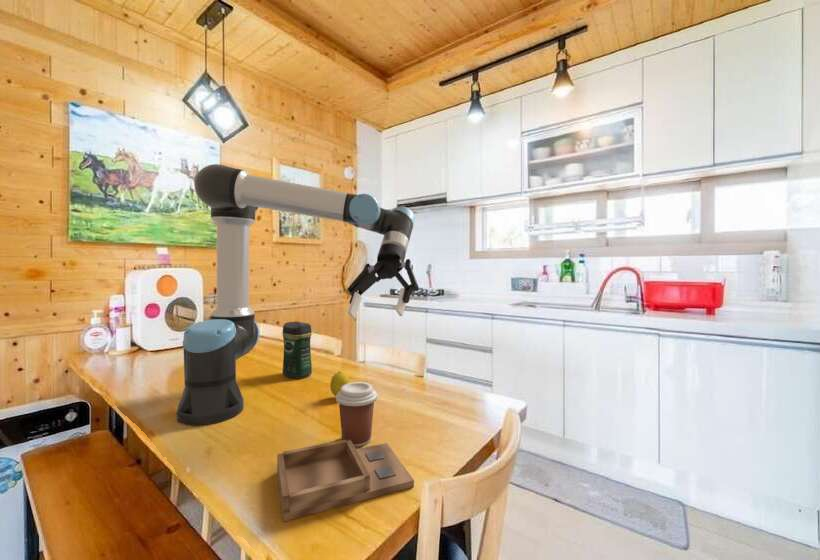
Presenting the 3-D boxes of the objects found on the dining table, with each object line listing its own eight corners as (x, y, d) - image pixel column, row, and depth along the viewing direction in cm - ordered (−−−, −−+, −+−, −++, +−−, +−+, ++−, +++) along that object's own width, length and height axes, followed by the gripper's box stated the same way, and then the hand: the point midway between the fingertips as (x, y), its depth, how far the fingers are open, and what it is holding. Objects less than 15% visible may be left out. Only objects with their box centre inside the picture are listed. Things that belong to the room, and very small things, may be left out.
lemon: (345, 402, 100) (345, 374, 99) (327, 401, 101) (327, 373, 101) (352, 395, 105) (352, 369, 105) (335, 394, 106) (335, 367, 106)
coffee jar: (315, 374, 124) (315, 321, 123) (297, 381, 117) (297, 325, 116) (297, 369, 129) (296, 319, 128) (278, 375, 123) (278, 322, 121)
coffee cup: (338, 430, 84) (338, 380, 83) (376, 429, 85) (377, 379, 84) (333, 451, 75) (333, 395, 74) (376, 449, 75) (377, 394, 75)
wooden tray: (283, 522, 54) (283, 498, 54) (277, 471, 67) (277, 452, 67) (413, 486, 63) (414, 466, 63) (386, 448, 76) (386, 431, 76)
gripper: (438, 255, 99) (426, 320, 86) (361, 263, 109) (340, 323, 96) (429, 236, 93) (415, 303, 81) (349, 247, 103) (325, 308, 91)
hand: (374, 314), depth 89 cm, fingers open, 13 cm apart
